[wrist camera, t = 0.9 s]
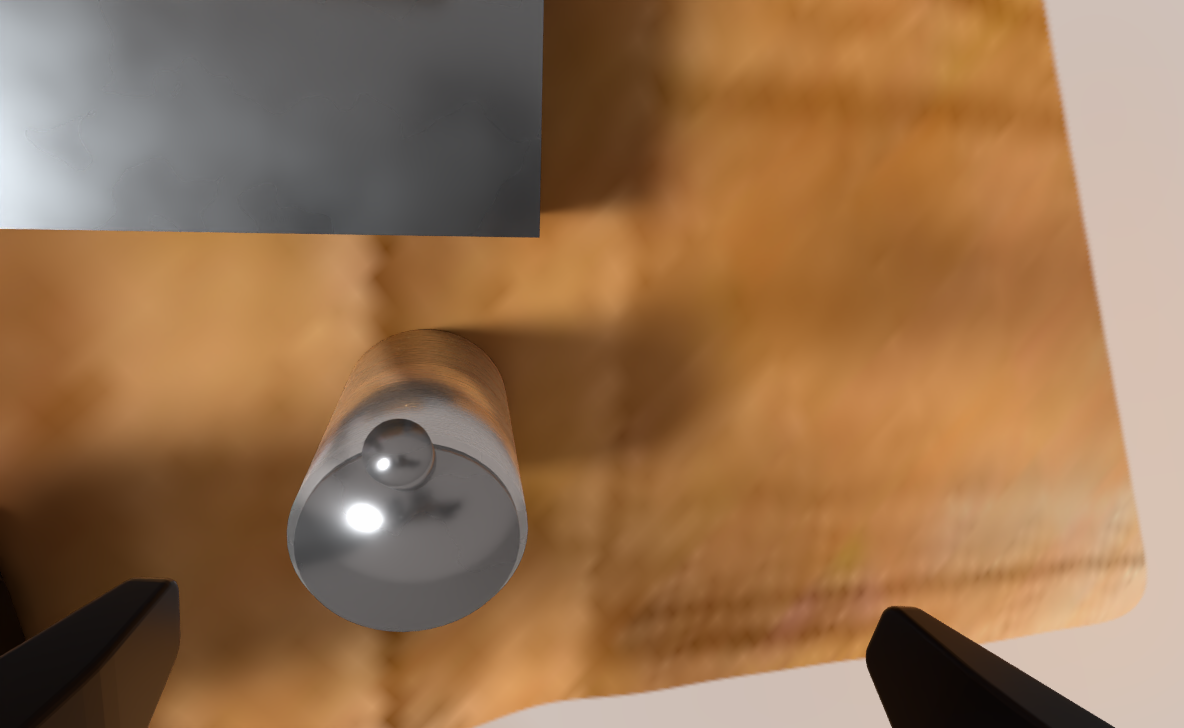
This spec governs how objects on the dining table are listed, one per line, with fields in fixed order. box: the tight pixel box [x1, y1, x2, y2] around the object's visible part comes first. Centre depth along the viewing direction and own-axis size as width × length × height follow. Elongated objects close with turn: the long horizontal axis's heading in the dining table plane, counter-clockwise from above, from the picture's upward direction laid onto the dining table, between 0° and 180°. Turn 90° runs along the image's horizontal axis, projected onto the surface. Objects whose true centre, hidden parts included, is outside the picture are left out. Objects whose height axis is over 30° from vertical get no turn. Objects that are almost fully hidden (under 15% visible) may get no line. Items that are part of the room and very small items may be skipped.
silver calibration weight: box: [287, 329, 528, 632], centre depth 16 cm, size 5×6×9 cm
